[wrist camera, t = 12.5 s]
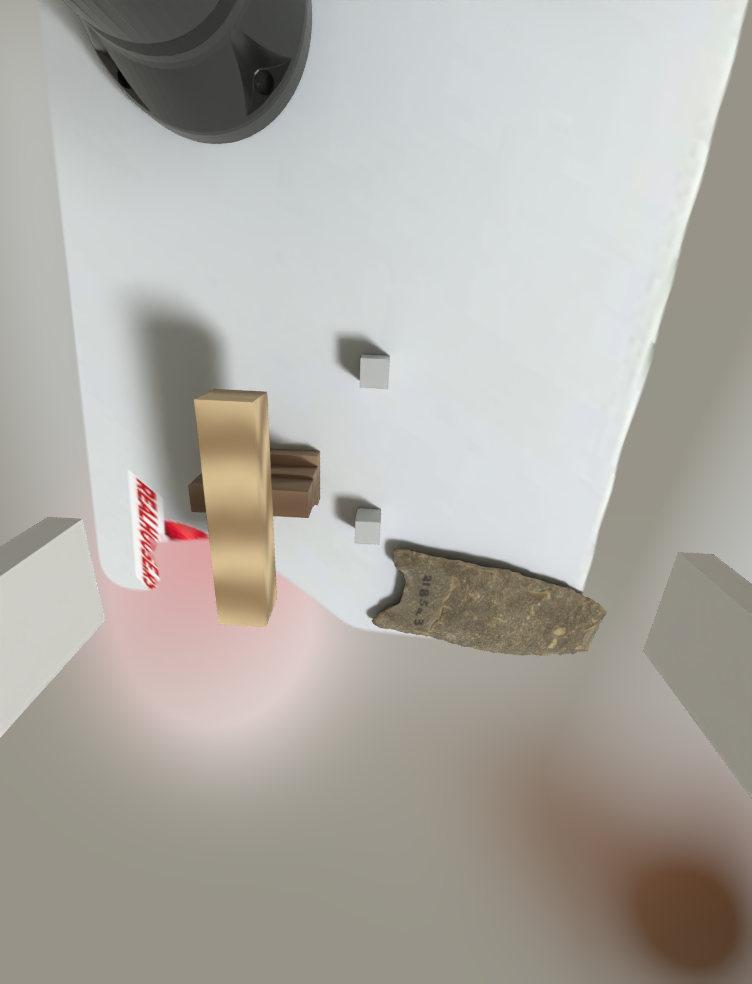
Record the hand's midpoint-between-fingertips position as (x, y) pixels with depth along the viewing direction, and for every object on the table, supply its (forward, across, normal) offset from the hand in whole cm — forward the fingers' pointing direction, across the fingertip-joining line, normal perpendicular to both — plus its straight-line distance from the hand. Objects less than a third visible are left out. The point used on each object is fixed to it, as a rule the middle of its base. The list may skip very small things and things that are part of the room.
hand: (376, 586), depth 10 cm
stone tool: (+33, +13, -24) cm, 43 cm away
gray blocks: (+33, -1, -7) cm, 33 cm away
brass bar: (+26, -11, -10) cm, 30 cm away
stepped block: (+33, -11, -10) cm, 36 cm away
